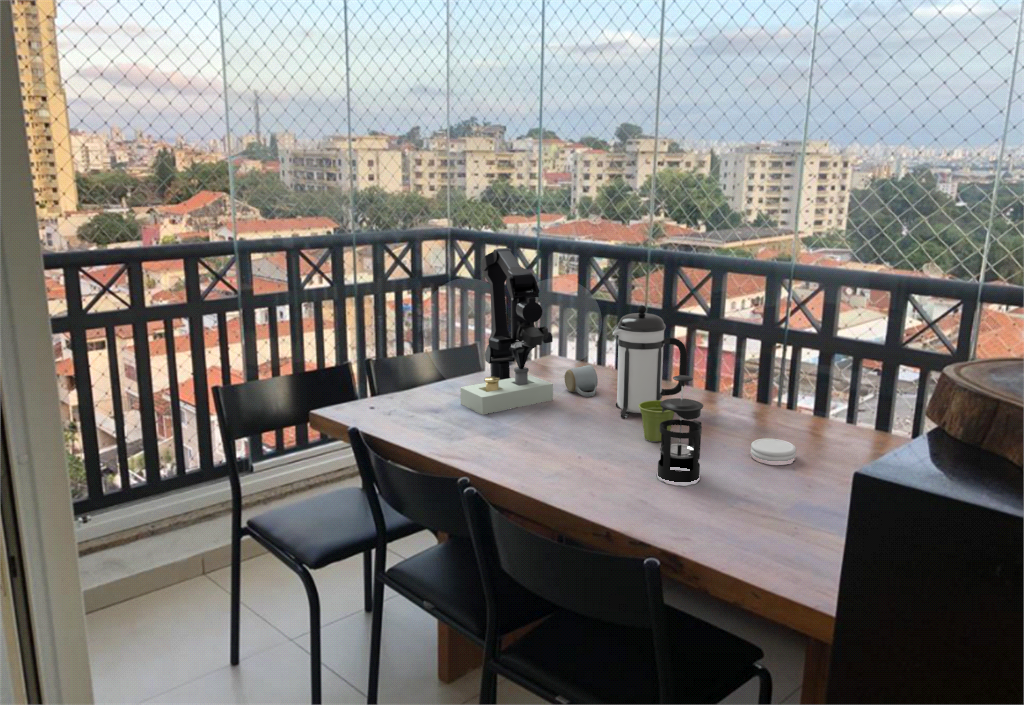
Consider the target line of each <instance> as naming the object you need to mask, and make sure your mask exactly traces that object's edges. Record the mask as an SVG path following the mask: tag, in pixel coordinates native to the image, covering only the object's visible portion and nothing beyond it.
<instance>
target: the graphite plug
mask: <svg viewBox="0 0 1024 705" xmlns="http://www.w3.org/2000/svg"><path fill="white" fill-rule="evenodd" d="M513 371H514V377H515V384H516V385H518V386H521V385H526V384H528V375H529V374H528V372H529V368H528V367H525V366H524V368H523V369H519V367H518V366H517V367H515V368H513Z"/></svg>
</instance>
